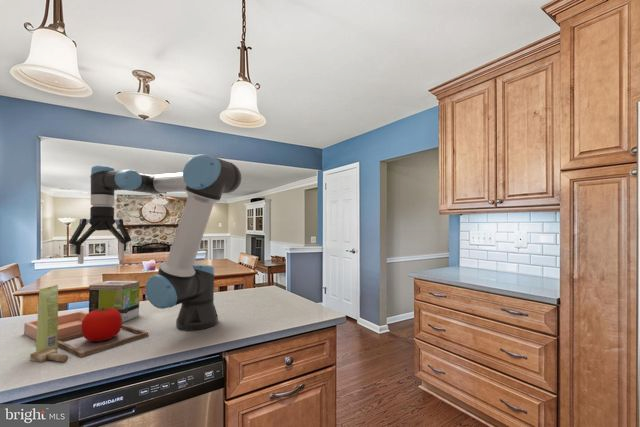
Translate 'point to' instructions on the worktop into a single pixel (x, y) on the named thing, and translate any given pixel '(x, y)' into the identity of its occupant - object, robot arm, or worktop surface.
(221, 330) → the worktop surface
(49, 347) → the tube
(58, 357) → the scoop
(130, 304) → the tea box
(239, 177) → the robot arm
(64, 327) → the brown wooden flat box
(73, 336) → the rim
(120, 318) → the tomato
